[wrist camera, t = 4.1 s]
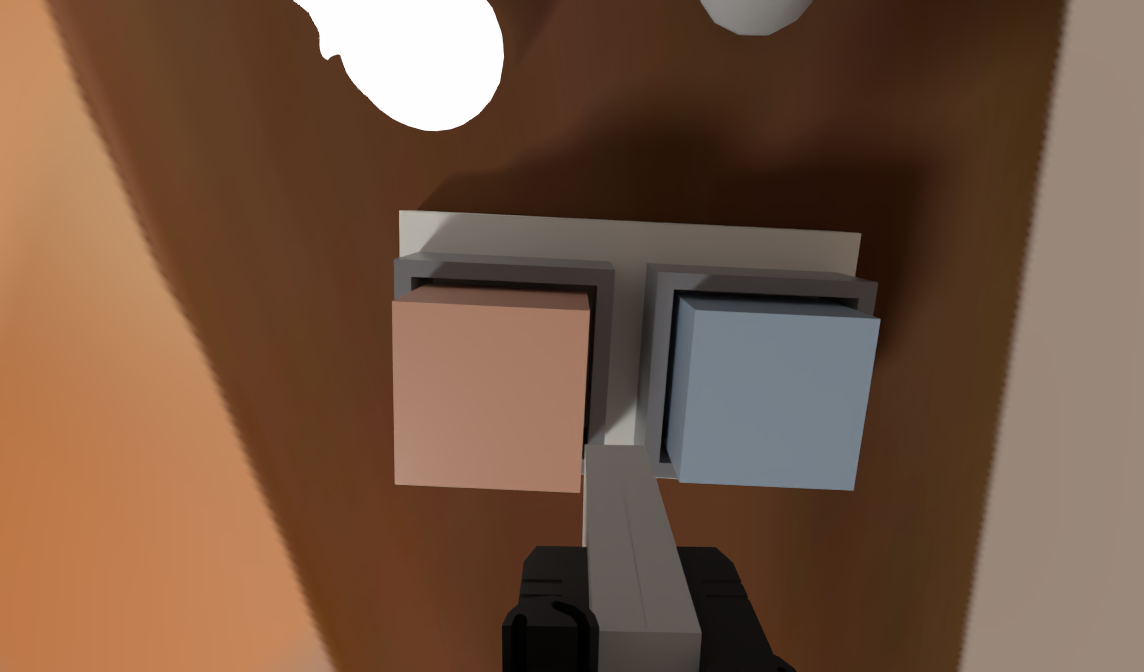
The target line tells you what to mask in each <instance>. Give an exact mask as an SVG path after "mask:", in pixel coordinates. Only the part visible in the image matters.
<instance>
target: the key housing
mask: <svg viewBox="0 0 1144 672" xmlns="http://www.w3.org/2000/svg"><path fill="white" fill-rule="evenodd" d="M399 233H400V257H399V258H396V259H394V300H396V299H398V298H399V297H401V296H403V295H405V294H407V293H409V292H411V291H413V290H415V289H417V288H419V287H421V286H423V285H425V284H444V285H465V286H485V287H506V288H527V289H548V290H568V291H587V295H588V302H589V308H590V318H589V336H588V354H587V373H586V391H585V409H584V427H583V445H582V463H581V474H584V460H585V444H592V445H646V448H647V451H648V454H649V458H650V461H651V464H652V468H653V471H654V474H655V478H672V479H678V478H677V475H676V472H675V470H674V467H673V465H672V462H671V459H670V457H669V454H668V452H667V449H666V446H665V444H664V441H663V439H662V436H661V435H662V423H663V411H664V399H665V387H666V376H667V364H668V352H669V340H670V328H671V316H672V305H673V293H674V292H689V293H710V294H731V295H751V296H772V297H793V298H813V299H827V300H830V301H832V302H835V303H838V304H841V305H844V306H846V307H849V308H852V309H855V310H857V311H860V312H863V313H866V314H868V315H871V316H873V314H874V307H875V301H876V294H877V288H878V282H874V281H870V280H866V279H862V278H858V277H855V274H856V267H857V260H858V254H859V247H860V240H861V233H851V232H840V231H825V230H804V229H784V228H764V227H743V226H723V225H702V224H682V223H662V222H641V221H621V220H601V219H580V218H560V217H539V216H519V215H499V214H478V213H458V212H438V211H417V210H412V211H399Z"/></svg>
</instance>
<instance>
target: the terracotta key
mask: <svg viewBox="0 0 1144 672" xmlns="http://www.w3.org/2000/svg"><path fill="white" fill-rule="evenodd" d="M589 318H590V308H589V302H588V295H587V291H568V290H548V289H527V288H506V287H485V286H465V285H444V284H425V285H423V286H421V287H419V288H417V289H415V290H413V291H411V292H409V293H407V294H405V295H403V296H401V297H399V298H398V299H396V300H394V301H392V327H393V391H394V455H395V484H398V485H420V486H442V487H464V488H486V489H507V490H529V491H551V492H573V493H580V481H581V463H582V445H583V427H584V409H585V391H586V373H587V354H588V336H589Z"/></svg>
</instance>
